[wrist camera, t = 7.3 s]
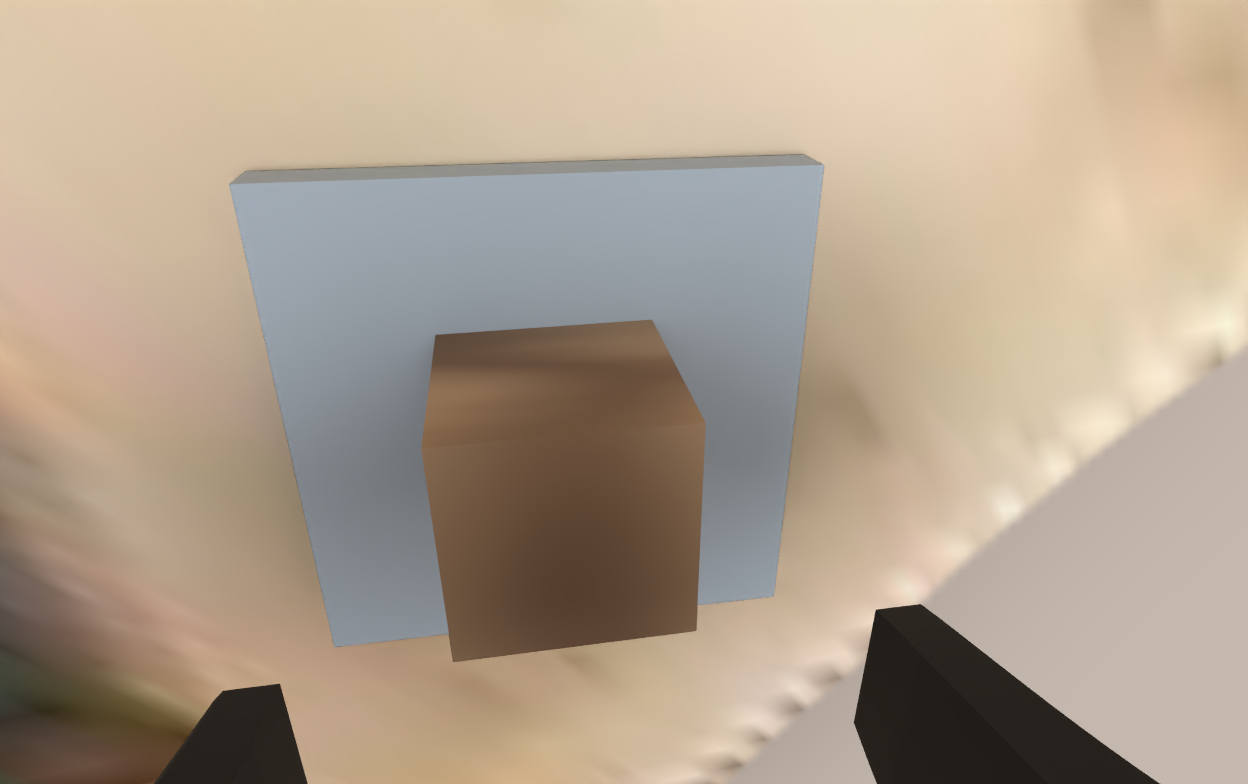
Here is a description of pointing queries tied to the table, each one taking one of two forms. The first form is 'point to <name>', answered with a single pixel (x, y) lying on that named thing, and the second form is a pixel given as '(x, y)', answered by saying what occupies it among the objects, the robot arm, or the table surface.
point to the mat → (517, 299)
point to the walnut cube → (562, 487)
